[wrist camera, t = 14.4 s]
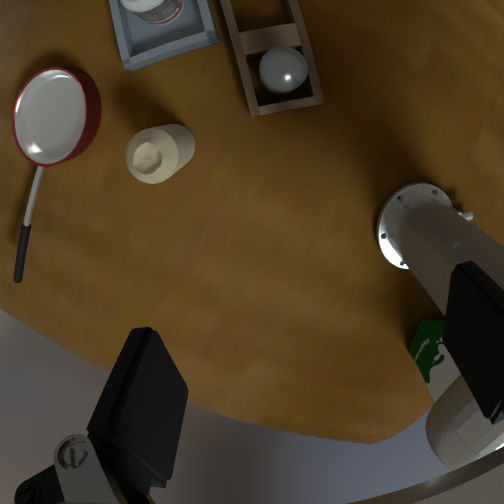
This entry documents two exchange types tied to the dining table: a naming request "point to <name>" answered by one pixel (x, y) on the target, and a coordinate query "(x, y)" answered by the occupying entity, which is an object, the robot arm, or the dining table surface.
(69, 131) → the frying pan
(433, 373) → the milk carton
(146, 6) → the pill bottle
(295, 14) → the socket rack
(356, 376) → the dining table surface
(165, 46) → the tray
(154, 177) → the candle
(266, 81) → the peg
